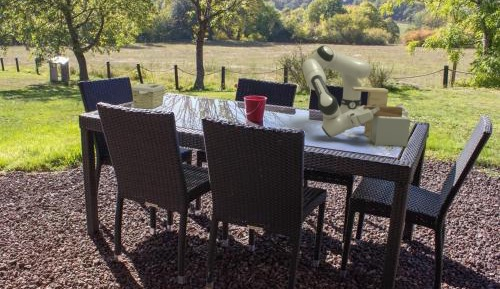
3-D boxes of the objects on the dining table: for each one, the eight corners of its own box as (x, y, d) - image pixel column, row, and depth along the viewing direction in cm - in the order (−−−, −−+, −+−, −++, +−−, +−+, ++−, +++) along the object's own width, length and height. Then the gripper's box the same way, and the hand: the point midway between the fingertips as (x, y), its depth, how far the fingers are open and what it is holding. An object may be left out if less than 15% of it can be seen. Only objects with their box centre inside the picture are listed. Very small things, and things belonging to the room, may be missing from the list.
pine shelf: (348, 132, 265) (352, 86, 259) (379, 133, 264) (384, 88, 258) (350, 135, 256) (354, 88, 250) (383, 137, 256) (388, 90, 249)
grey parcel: (370, 139, 250) (373, 113, 246) (401, 141, 249) (404, 115, 245) (375, 144, 238) (378, 118, 235) (407, 146, 237) (410, 119, 234)
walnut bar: (362, 114, 243) (363, 105, 242) (399, 115, 242) (400, 106, 241) (364, 115, 239) (364, 107, 238) (401, 116, 238) (402, 108, 237)
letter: (375, 114, 246) (375, 113, 246) (402, 115, 245) (402, 114, 245) (380, 117, 235) (380, 117, 235) (408, 119, 234) (408, 118, 234)
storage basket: (143, 103, 336) (143, 82, 332) (165, 104, 334) (165, 83, 330) (131, 108, 313) (130, 86, 309) (154, 109, 311) (154, 87, 307)
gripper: (352, 120, 252) (375, 108, 250) (358, 127, 232) (384, 115, 230) (347, 109, 251) (370, 98, 249) (352, 116, 231) (378, 104, 229)
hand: (377, 106), depth 239 cm, fingers open, 8 cm apart
